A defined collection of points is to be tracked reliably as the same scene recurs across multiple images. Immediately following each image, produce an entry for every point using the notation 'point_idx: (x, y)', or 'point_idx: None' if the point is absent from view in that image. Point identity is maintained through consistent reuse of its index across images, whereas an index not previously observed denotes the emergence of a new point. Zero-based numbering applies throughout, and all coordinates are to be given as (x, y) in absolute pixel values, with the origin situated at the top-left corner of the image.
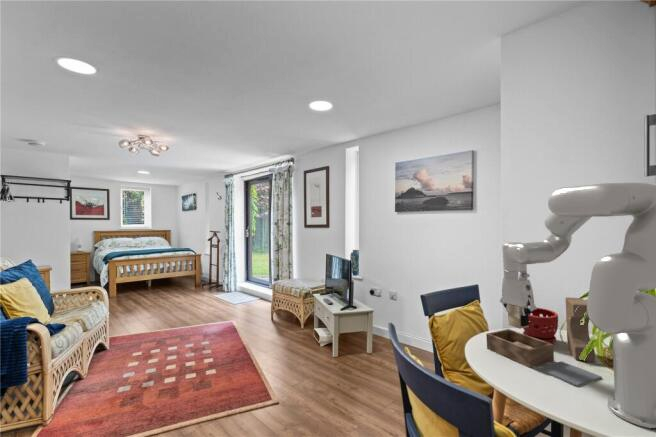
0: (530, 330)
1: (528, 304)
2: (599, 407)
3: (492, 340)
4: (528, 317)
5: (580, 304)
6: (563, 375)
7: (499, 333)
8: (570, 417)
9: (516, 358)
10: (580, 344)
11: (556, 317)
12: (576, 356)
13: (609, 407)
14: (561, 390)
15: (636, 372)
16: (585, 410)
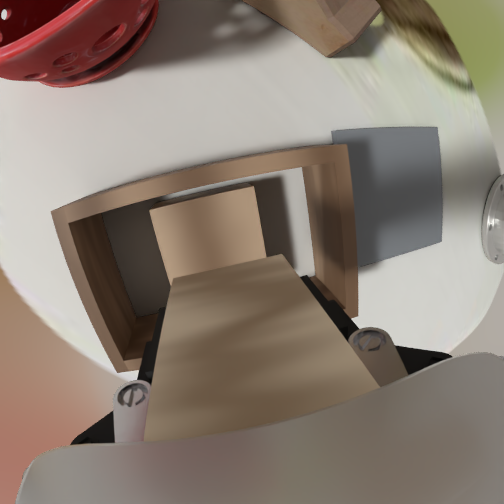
0: (83, 68)
1: (407, 387)
2: (476, 265)
3: None
4: (357, 327)
5: None
6: (406, 229)
7: (98, 297)
8: (461, 334)
9: None
10: (348, 8)
11: None
12: (334, 53)
13: (488, 257)
14: (430, 289)
15: None
16: (469, 297)
